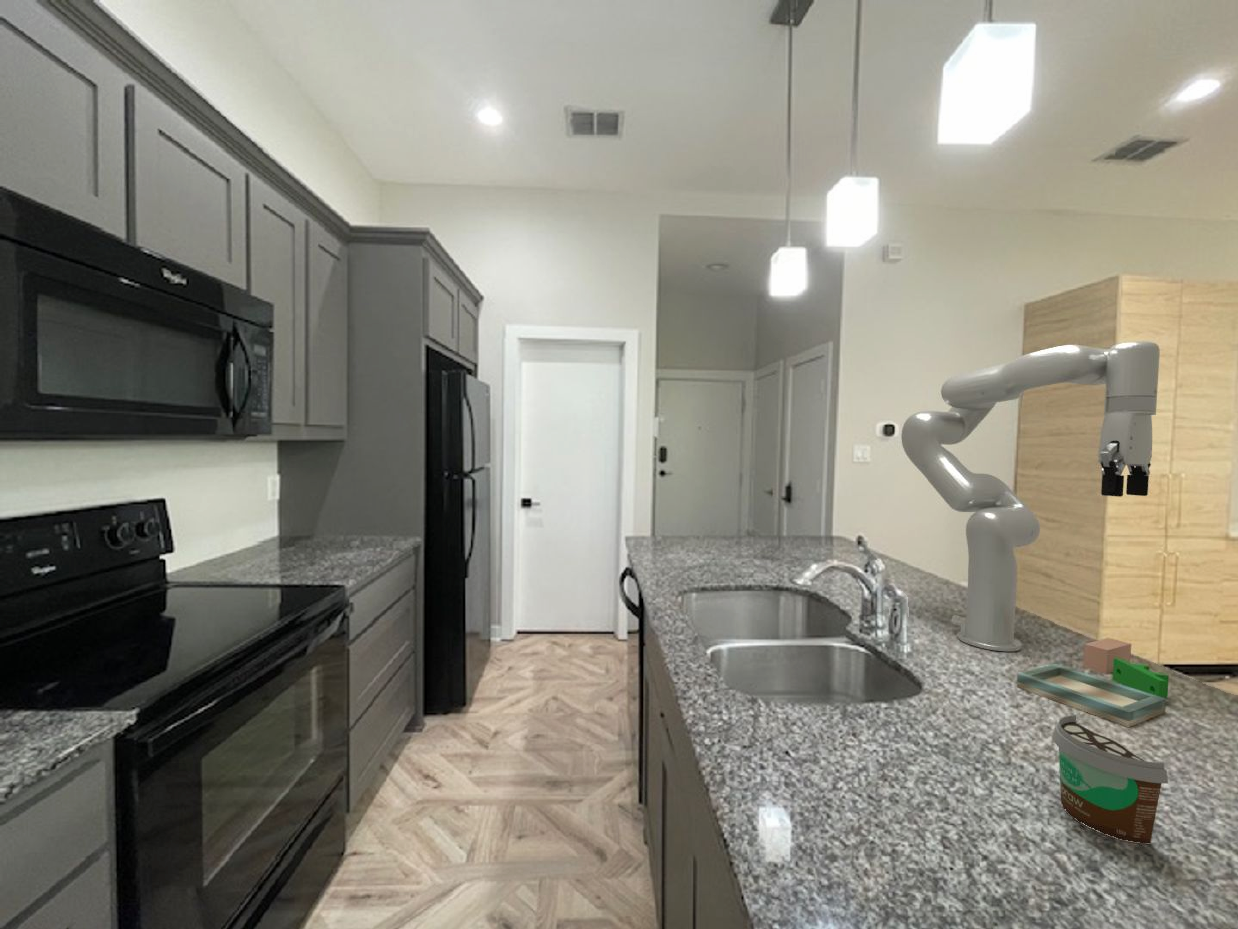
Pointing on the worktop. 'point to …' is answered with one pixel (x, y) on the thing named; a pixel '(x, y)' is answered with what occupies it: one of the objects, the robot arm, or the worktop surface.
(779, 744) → the worktop surface
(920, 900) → the worktop surface
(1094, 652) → the salmon pink rectangular block
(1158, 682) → the pipe clamp
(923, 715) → the worktop surface
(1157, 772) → the food container
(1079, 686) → the nest board
